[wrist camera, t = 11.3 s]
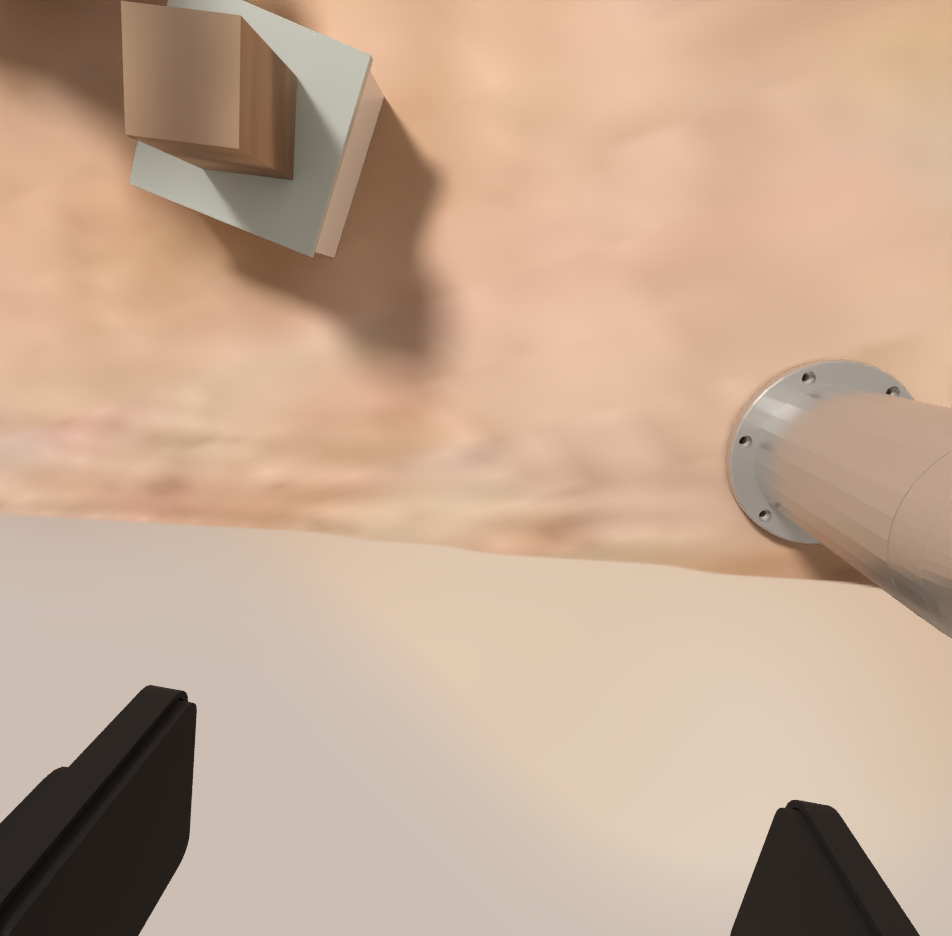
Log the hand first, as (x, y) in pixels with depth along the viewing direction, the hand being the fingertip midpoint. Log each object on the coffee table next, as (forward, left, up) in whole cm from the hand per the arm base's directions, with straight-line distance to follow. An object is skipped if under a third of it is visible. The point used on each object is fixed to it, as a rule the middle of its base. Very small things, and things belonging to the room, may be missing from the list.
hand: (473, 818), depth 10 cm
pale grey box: (+16, -15, -34) cm, 40 cm away
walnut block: (+16, -15, -28) cm, 35 cm away
